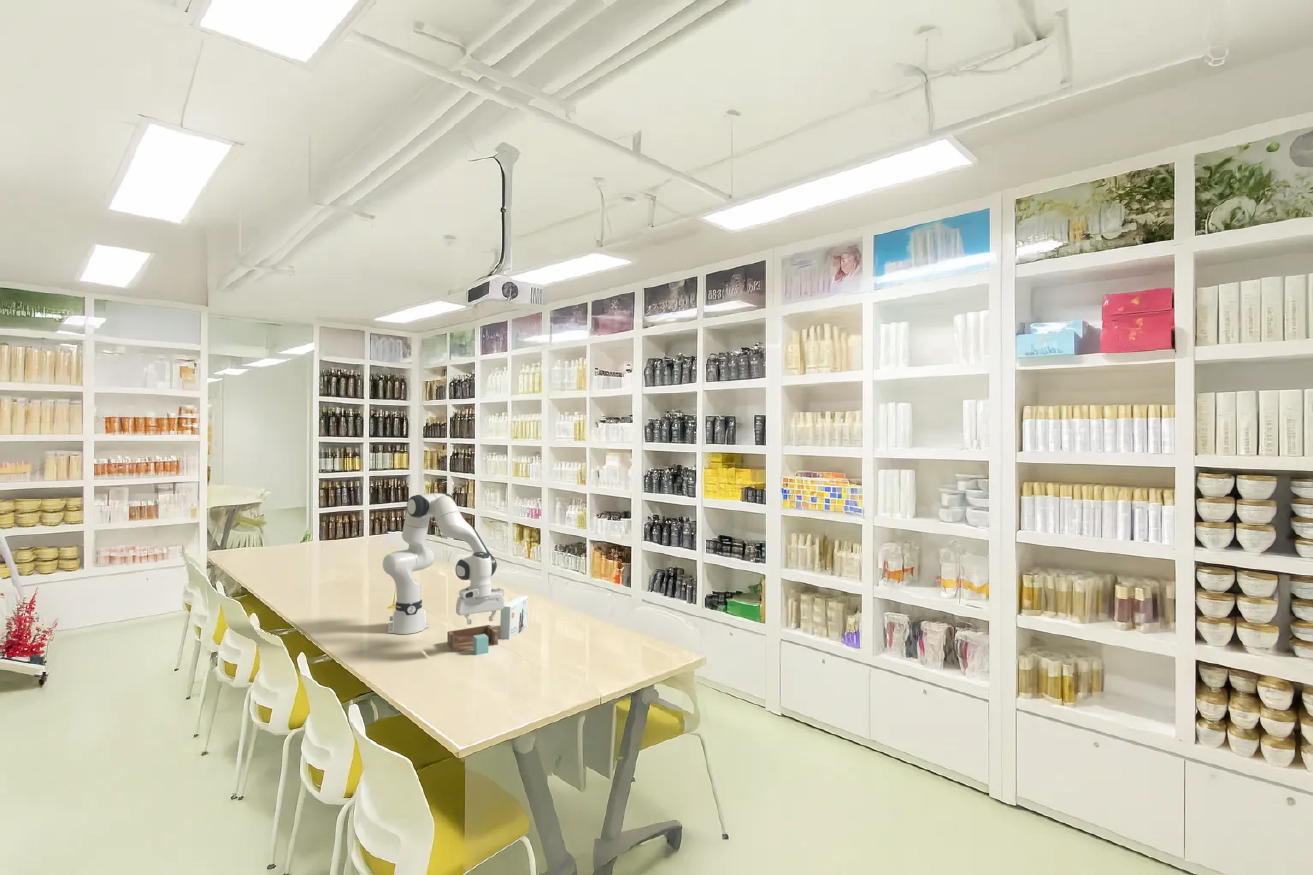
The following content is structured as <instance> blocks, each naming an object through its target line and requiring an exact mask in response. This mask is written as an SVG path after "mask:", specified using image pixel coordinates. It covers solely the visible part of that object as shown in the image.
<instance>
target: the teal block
mask: <svg viewBox="0 0 1313 875" xmlns="http://www.w3.org/2000/svg"><path fill="white" fill-rule="evenodd" d="M472 652H473V653H474V654H475V655H476V656H478V655H484V654H489V646H488V636H487V635H486V634H481V635H475V636H473V649H472Z"/></svg>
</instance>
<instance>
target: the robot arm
mask: <svg viewBox="0 0 1313 875" xmlns="http://www.w3.org/2000/svg"><path fill="white" fill-rule="evenodd" d="M406 510H407V511H406V514H405V518H404V522H403V528H402V532H401V538H402V540H403V541H404V542H405V543H407V544H408V547H407V549H402V550H397V551H394V552H391V553H389V554H386V555H385V556H384V557H383V560H382V568H383V571H384V572H385V573H386V574H388V575H389V576H390V577H391V578H392V579H393V581H394V583H395V588H396V601H395V605H394V606H395V608H394V609H395V610H394V612H393V614H392V615H391V616H389V622H388V625H387V627H388V628H387V633H388V634H397V635H409V634H415V633H419V632H421V631H424V630H425V629H428V628H430V624H428V623H426V622H427V621H426V619H427V618H426V610H424V609H423V599H422V585H421V583H420V581H419V580H417V579H414V578H413V572H417V571H422V570H424V569H427V568H429V567H431V566H432V565H433V563H434V561H435V555H434V552H433V550H432V549H431V548H429V546H428V543H427V536H428V530H429V525H430V524H429V523H430V520H431V519H430V518H433V517H434V519H435V522H436V525H437V528H438V529H439V531H440V532H441V534H442V535H443V536H445V537H447V538H450V539H455V540H460V541H464V542H465V543H466V544H468V545H469V546H470V548H471V550H472V552H473V553H471V555H470V556H468V557H464V558H461V559H459V560H458V561H457V562H456V564H455V565H456V566H455V574H456V576H457V577H458V579H459V580H461V581H470V583H469V584H470V585H469V586H466V587H464V588H463V589H460V590H459V591H458V597H457V600H456V605H455V612H456V614H457V615H458V616H464V618H465V619H466V624H467V625H468V626H469V625H472V619H471V618H469V617H470V615H473V614H481V613H487V612H488V613H489V612H491V614H490V616H488V621H489V622H494V618H495V615H496V614H497V611H501V610H502V609H503V608H504V604H505V601H504V596H505V590H504V589H502V588H500V587H499V588H492V576H493V575H494V574H495V572H496V570H497V567H498V563H497V561H496V558H495V557H494V556H493V554H492V553H491V552H490V551H489V550H488V548H487V546H486V545H485V543H484V542H483V540H482V539H481V538H482V537H480V535H479V533H478V532H477V530H476V529H475V528H474V527H473V526H472V525H471V524H469V523H468V522H467V521H466V520H465V519H464V517H463V515H462V513H461V512H460V509H459V508H458V505H457V503H456V502H455V500H454V497H453V495H452V494H449V493H446V492H441V493H440V492H432V493H431V492H430V493H423V494H416V495H412V496H410V497H409V498H408V500H407V501H406Z"/></svg>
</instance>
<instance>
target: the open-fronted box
mask: <svg viewBox="0 0 1313 875" xmlns="http://www.w3.org/2000/svg"><path fill="white" fill-rule="evenodd" d="M481 634H486V635H487V636H488V647H490V646H497V645H499V631H498V630H496V629H495V628H494V627H493V626H491V625H490V624H487V625H482V626H473V627H467V628H462V629H455V630H449V631H447V635H446V636H447V639H446V640H447V644H446V645H447V646H448V647H449V648H450V649H451V650H452V651H453V652H454V653H457V652H458V653H459V652H462V651H463V652H465V651H469V650H473V636H475V635H481Z"/></svg>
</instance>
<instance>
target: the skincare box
mask: <svg viewBox="0 0 1313 875" xmlns="http://www.w3.org/2000/svg"><path fill="white" fill-rule="evenodd" d="M528 616H529V596H528V595H518V596H516V597H514V598H513V599H511V600H509V601H508V602H506V603H505V602H504V608H503V609H502V610H500V624H499V626H500V627H499V639H500V640H511V639H512V638H513V637H516V636H518V635H520V634H521V633H522V632H523V631H526V630H527V629H528Z"/></svg>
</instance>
